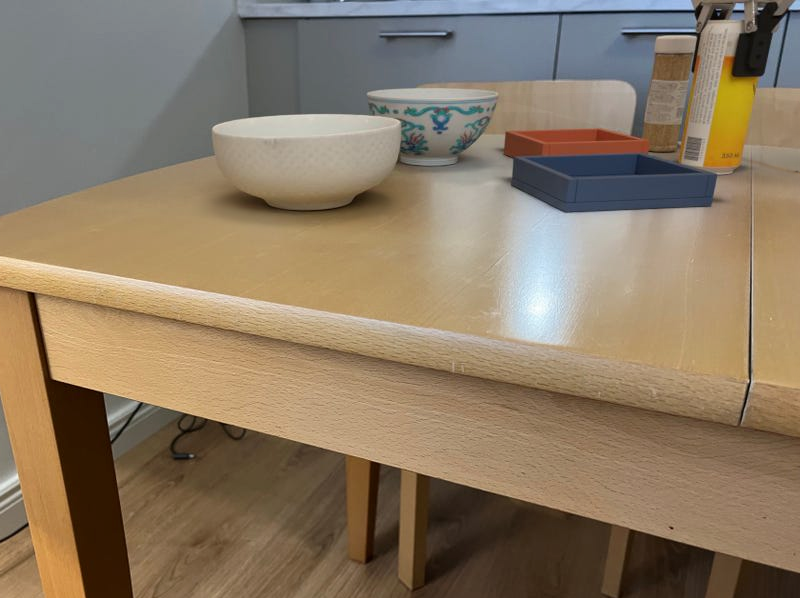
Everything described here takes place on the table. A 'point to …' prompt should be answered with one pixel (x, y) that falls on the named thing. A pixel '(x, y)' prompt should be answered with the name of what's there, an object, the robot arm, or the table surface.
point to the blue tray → (612, 181)
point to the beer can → (717, 102)
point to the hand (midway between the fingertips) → (726, 73)
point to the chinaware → (435, 120)
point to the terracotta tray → (571, 142)
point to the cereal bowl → (307, 157)
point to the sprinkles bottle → (668, 91)
